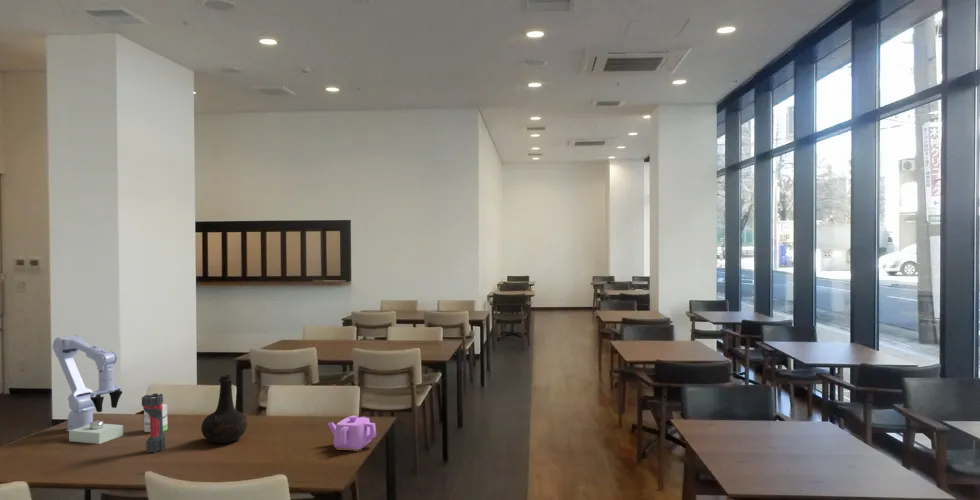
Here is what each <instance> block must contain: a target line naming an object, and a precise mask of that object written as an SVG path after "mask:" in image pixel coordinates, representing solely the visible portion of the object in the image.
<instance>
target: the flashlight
mask: <svg viewBox="0 0 980 500" xmlns="http://www.w3.org/2000/svg"><path fill="white" fill-rule="evenodd" d="M163 403H164V395H163V393H160V394H158V393H152V394H145V395H143V396H141V406H142V408H143V411H145V412H147V413H148V414H149V416H150V430H151V431H150V432H149V435H150V436H149V437H148V439H147V440H146V441H145V445H146V446H145V447H146V453H147V454H150V453H154V454H155V453H158V452H159V451H160V452H161V451H164V449H166V436H165V434H164V431H163V416H162V409H163V407H162V404H163Z"/></svg>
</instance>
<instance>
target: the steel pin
mask: <svg viewBox="0 0 980 500" xmlns="http://www.w3.org/2000/svg"><path fill="white" fill-rule="evenodd" d="M103 424H104V420H93V422H90V429H91V430H95V429H101V428H103Z"/></svg>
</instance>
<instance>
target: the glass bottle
mask: <svg viewBox="0 0 980 500" xmlns="http://www.w3.org/2000/svg"><path fill="white" fill-rule="evenodd" d="M233 381H234V378H232V374H226V375H220V377H219V379H218V382H220V383H219V384H220V387H219V394H218V395H219V396H218V402H217V406H216V409H215V411H214V412H211V413H210V414H209V415H207V416H205V418H204V419H203V421H202V423H201V433H202V436H203V437H204V438H205V439H206V440H207V441H208V442H211V443H215V444H228V443H233V442H235V441H237V440H238V439H240V438H241V437H242V435H243V434H244V433H245V432H246V431H247V429H248V419H247V417H246V415H245V414H244V413H242V412H241V411H239V410H237V409H235V405H234V400H233V388H232V382H233Z"/></svg>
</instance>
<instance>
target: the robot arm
mask: <svg viewBox="0 0 980 500" xmlns="http://www.w3.org/2000/svg"><path fill="white" fill-rule="evenodd" d="M52 349H53V352H54V355H55V356H56V358H57V360H58V362H59V364H60V367H61V369H62V371H63V375H64V376H65V379H66V381H67V383H68V386H69V388H70V391H71V393H70V394H69V395H68V397H67V400H68V407H69V409H70V410H71V411H70V412H69V413H68V416H67V429H66V430H65V431H66V432H69V431H70V430H73V429H76V428H79V427H82V426H85V425H89V424H90V422H93V421H94V409H95V411H96V412H97V413H102V412H103V402H104V398H105V396H103V395H106V394H109V397H110V406H111V408H112V409H113V408H114V409H116V408H117V407H118V404H119V400H120V398H121V396H122V394H123V391H122V390H123V385H115V371H114V369H115V368H114V367H115V366H114V365H115V364H116V362H117V360H118V357H117V355H116V353H115V352H114V351H113V350H112V351H106V349H102V348H101V347H100V346H99V345H90V344H89V343H87V342H86V341H84V340H83V337H82V336H80V335H78V334H74V335H70V336H63V337H59V336H58V337H56V338H55V339H54V340H53V343H52ZM79 351H80V352H83V353H85V356H86V357H87V358H88V359H91V360H92V361H94V362H95V365H96V369H97V371H98V389H97V390H95V391H93V390H92V389H90V388H89V387H87V386H85V383H84V380H83V378H82V376H81V374H80V371H79V369H78V366H77V364H76V362H75V359H74V356H75V355H77V354H78V353H79Z"/></svg>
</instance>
